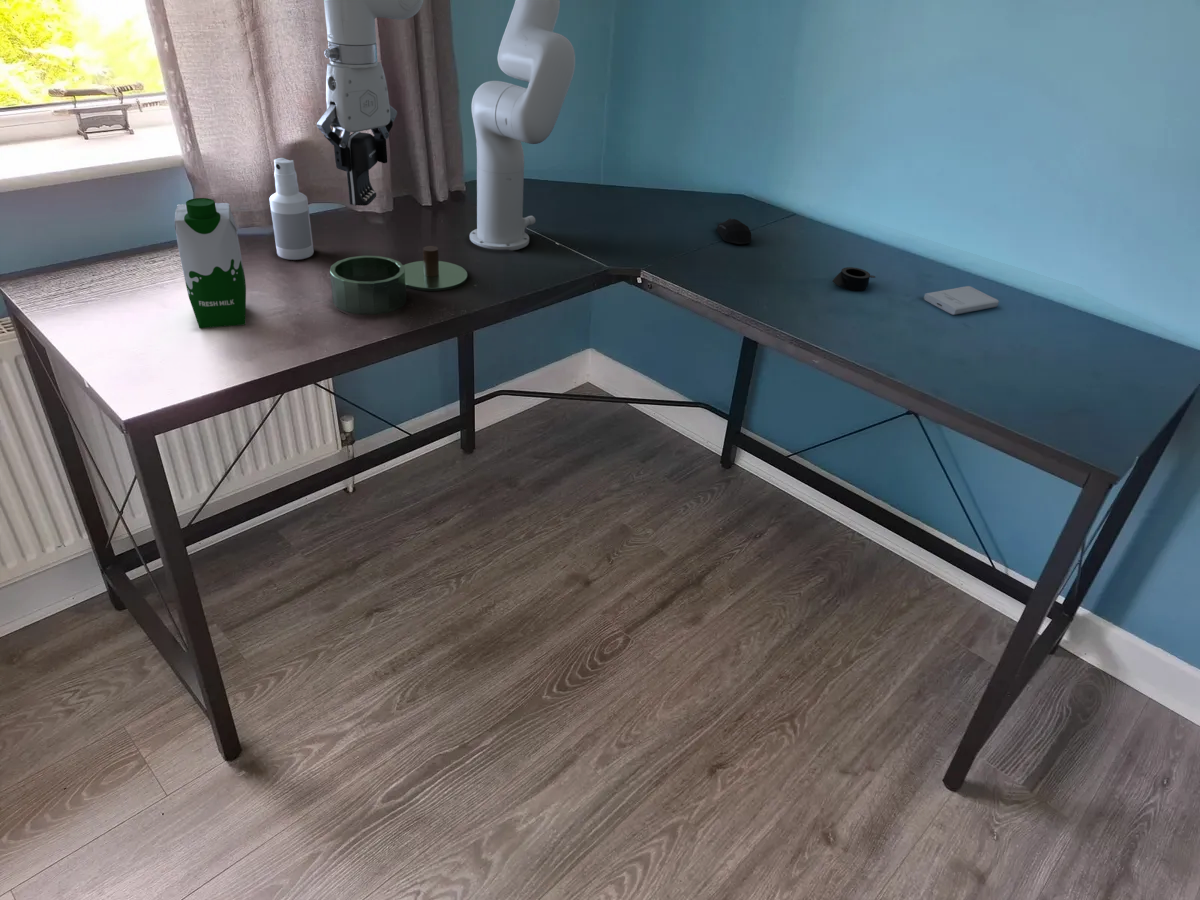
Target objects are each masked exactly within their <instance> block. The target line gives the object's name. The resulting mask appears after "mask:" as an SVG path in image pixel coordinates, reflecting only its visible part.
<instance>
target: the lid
mask: <svg viewBox="0 0 1200 900" xmlns="http://www.w3.org/2000/svg"><path fill="white" fill-rule="evenodd" d="M402 265H403V266H404V267H405V282H406V288H409V289H412V290H416V291H424V292H440V291H442V292H443V291H448V290H452V289H455V288H459V287H460V286H462V285H464V284H465V283H466V282H467V281H468V272H467V270H466V269H465V268H463V267H462V266H460V265H458V264H455V263H452V262H448V261H442V260H440V259H439V248H438V247H437V246H435V245H426V246H424V247H422V260H417V261H413V262H409V263H405V264H402Z"/></svg>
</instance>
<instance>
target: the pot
mask: <svg viewBox="0 0 1200 900" xmlns="http://www.w3.org/2000/svg"><path fill="white" fill-rule="evenodd" d="M403 265H404V264H402V263H401V261H399V260H396V259H393V258H391V257H387V256H386V257H385V256H381V255H358V256H350V257H347V258H343V259H340V260H337V261H336V262H334V263H333V264H332V265H331V266H330V270H329V278H330V286H331V297H332V303H333V304H334V306H335V307H336V309H339V310H338V312H340V313H342V314H344V315H346V316H348V315H349V314H354V315H359V316H360V315H361V316H378V315H382V314H383V315H384V314H389V313H393V312H394V311H397V310H400V309H402V307H403V306H404V305H405V304H407V287H406V282H405V267H404V266H403ZM347 313H348V314H347Z"/></svg>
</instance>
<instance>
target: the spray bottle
mask: <svg viewBox="0 0 1200 900" xmlns="http://www.w3.org/2000/svg"><path fill="white" fill-rule="evenodd" d="M294 161H295V160H294V159H290V160H289V159H287V158H285V157H277V158H274V159H273V165H274V172H273V174H274V175H273V176H274V186H275V192H274V193H272V194H271V195H270V197H269V199H268V200H269V205H270V213H271V214H270V215H271V220H272V221H271V222H272V227H273V228H272V229H273V235H274V241H275V248H276V254H277V256H278V257H279V258H281V259H284V260H291V261H292V260H293V261H296V260H297V261H298V260H304V259H308V258H311V257H312V256H313V255H314V251H315V250H314V241H313V233H312V225H311V224H312V223H311V216H310V207H309V200H308V199H309V198H308V196H307V195H306V194H304V193H303V192H301V191H300V188H299V182H298V175H297V171H296V168H295V162H294Z"/></svg>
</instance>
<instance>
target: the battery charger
mask: <svg viewBox="0 0 1200 900" xmlns="http://www.w3.org/2000/svg"><path fill="white" fill-rule="evenodd" d="M346 147H349V149H350V156H351V167H352V170H351V171H350V172H346V181H347V188H348V189H347V190H348V199H349V205H351V206H355V207H356V206H360V207H361V206H363V207H365V206H369V205H370V204H371V203H372V202H373V201H374V200H375V199H376V198H377V192H376V191H375V190H374V188H373V186H372V184H371V181H370V170H371V169H372V168H373V167H374V166H375V165H376V164H378V157H377V148H376V141H375V138H374V134H372V133H369V132H362V131H359V132H351V133H350V136H349V139H348V142H347V145H346Z"/></svg>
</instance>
